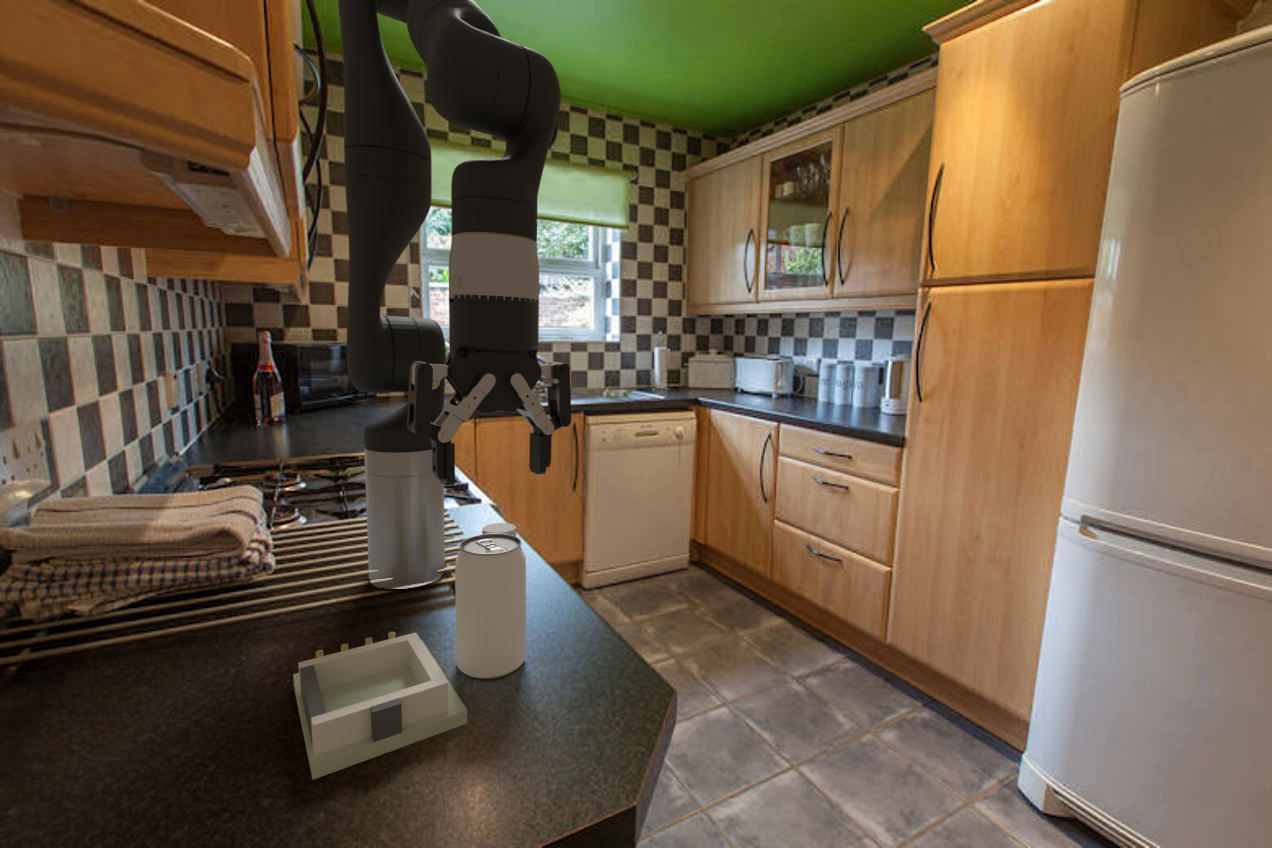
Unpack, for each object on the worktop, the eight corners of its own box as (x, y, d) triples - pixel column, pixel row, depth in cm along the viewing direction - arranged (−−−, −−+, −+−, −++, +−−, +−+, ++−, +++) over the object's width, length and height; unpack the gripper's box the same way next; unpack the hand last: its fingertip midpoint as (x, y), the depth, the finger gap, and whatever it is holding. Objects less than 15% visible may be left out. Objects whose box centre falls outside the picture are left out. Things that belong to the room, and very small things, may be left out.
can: (473, 690, 51) (472, 561, 49) (446, 658, 56) (443, 539, 54) (537, 666, 55) (538, 546, 53) (506, 638, 60) (506, 527, 58)
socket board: (293, 687, 50) (291, 648, 50) (422, 651, 57) (421, 617, 56) (312, 779, 40) (310, 732, 40) (467, 723, 46) (466, 682, 46)
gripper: (549, 301, 56) (546, 462, 59) (396, 289, 48) (400, 477, 51) (588, 299, 50) (583, 478, 53) (421, 285, 42) (424, 499, 45)
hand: (494, 477), depth 52 cm, fingers open, 8 cm apart
